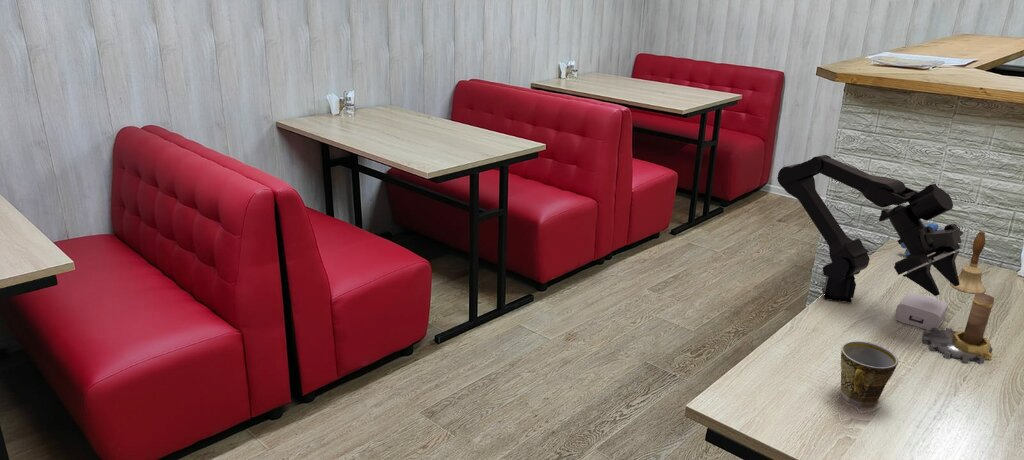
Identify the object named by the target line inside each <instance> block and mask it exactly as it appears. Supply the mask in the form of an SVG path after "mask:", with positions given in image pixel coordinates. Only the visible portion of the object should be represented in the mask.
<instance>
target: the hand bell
mask: <svg viewBox="0 0 1024 460" xmlns="http://www.w3.org/2000/svg"><path fill="white" fill-rule="evenodd" d="M985 233H986V232H984V231H982V230H981V231H980V230H979V232H978V233H977V235H976V236H975V237H974V240H973V243H972V256H971V259H970V263H969V265H964V266H963V267H962V269H961V270H960V273H959V275H958V278H959V282H960V285H958V286H954V285H953V284H952V283H950V282H949V285H950V286H951V287H952V288H953V289H955V290H958V291H959V292H963V293H967V294H973V295H975V294H977V293H982V294H985V293H986V287H985V286H984V284H983V281H982V275H983V274H982V273H983V271H982V269H980V268H979V267H978V265H979V264H978V263H979V259H980V255H981V253H982V252H983V250H984V248H985V245H986V234H985Z"/></svg>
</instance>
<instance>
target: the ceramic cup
mask: <svg viewBox="0 0 1024 460" xmlns="http://www.w3.org/2000/svg"><path fill="white" fill-rule="evenodd" d="M840 351H841V352H840V370H841V371H840V393H841V396H842V397H843V398H844V399H845V400H846V402H848V403H850V404H852V405H854V406H858V407H860V408H865V407H866V408H867V407H868V408H869V407H870V408H871V407H872V408H873V407H875V406H876V405H877V403H878V402H879V400H880V397H881V395H882V393H883V391H884V389H885V387H886V385H887V384H888V382H889V380H890V379H891V377H892V376H893V374H894V372H895V370H896V368H897V366H898V365H899V364H898V363H899V360H898V357H897V356H896V355H895V354H894V353H893V352H892V351H891V350H889V349H887V348H886V347H884V346H882V345H878V344H876V343H872V342H867V341H860V340H859V341H858V340H857V341H856V340H854V341H853V340H852V341H849V342H846V343H844V344H843V345H842V346H841V350H840Z"/></svg>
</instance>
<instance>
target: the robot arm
mask: <svg viewBox="0 0 1024 460" xmlns="http://www.w3.org/2000/svg"><path fill="white" fill-rule="evenodd" d="M819 174H821V175H823V176H825V177H828V178H830V179H831V180H832V179H833V180H834V181H836V182H839V183H841V184H843V185H846V186H847V187H849V188H852V189H854V190H856V191H858V192H859V193H861V194H862V195H863V196H864V198H865V199H866V200H868V201H870V202H871V203H872V204H874V205H875V206H877V207H879V208H885V209H881V212H880V215H879V217H878V221H879V222H880V223H881V222H884V221H887V220H889V222H890V223H891V225H892V227H893V229H894V230H895V232H896V234H897V235H898V237H899V239H897V243H898V245H900V244H902V243H903V244H904V245H905V247H906V249H907V250H908V252H909V254H910V255H908V256H906V257H905V258H902V259H901V260H899V261H896V262H895V263H894V267H893V269H894V270H895V272H896V273H897V276H900V275H902V277H903V278H905V277H906V278H907V279H908V280H910V281H912V282H914V284H917V285H919V286H920V287H921V288H923V289H924V290H925V291H927V292H928V293H930V294H932V295H933V297H936V296H937V297H938V296H939V295H940V294H941V293H940V291H939V288H938V286H937V283H936V281H935V279H934V277H933V275H932V272H931V269H932V266H933V268H935V269H936V270H937V271H938V272H939V273H940V274H941V275H942V276H943V277H944V278H945V279H946V280H947V281H948V282H949V284H950V283H952V284H953V285H954V286H958V285H960V282H959V278H958V276H959V275H958V270H957V265H956V259H957V257H958V255H959V253H960V250H959V249H961V245H960V244H961V243H962V239H961V236H962V235H963V234H964V232H963V231H962V230H961V228H959V227H958V225H957V224H956V223H949V224H947V225H945V226H944V228H943V229H944V230H940V231H933V229H932V228H931V227H930V226H928V227H925V226H926V225H925V226H924V224H925V223H924V222H923V221H926V222H928V221H930V220H933V219H935V218H937V217H938V216H940V215H942V214H945V213H946V212H949V211H950V210H953V208H954V202H953V199H952V197H951V195H950V194H949V193H947V192H946V191H945V190H944V189H942V188H941V187H938V185H937V184H936V183H934V182H933V183H931V184H929V185H927V186H925V187H924V188H923V189H922V190H920V191H916V190H914V189H913V188H910V187H907V186H906V184H905V183H904V182H903V181H901V180H899V179H895V178H891V177H887V176H881V175H880V176H879V175H872V174H870V173H867V172H865V171H863V170H861V169H858V168H855V167H853V166H851V165H849V164H847V163H843V162H842V161H839V160H837V159H835V158H832V157H831V156H829V155H827V154H821V155H817V156H813V157H812V158H811V159H808V160H806V161H804V162H802V163H801V162H800V163H795V164H792V165H791V164H790V165H786V166H782V167H781V168H780V170H778V174H777V177H776V178H777V179H776V180H777V182H778V184H779V185H780V187H781V188H782V189H783V190H784V191H785V192H786V193H787V194H789V195H790V196H792V197H793V198H795V199H797V200H798V202H799V203H800V204H801V207H803V208H802V209H804V210H805V212H806V214H807V215H808V216H809V218H810V219H811V221H812V223H813V224H814V226H815V227H816V229H817V230H818V231H819V233H820V235H821V236H822V238H823V239H824V241H825V242H826V243H827V246H828V251H829V258H830V261H831V262H830V263H828V264H826V265H823V266H822V272H823V273H822V275H823V276H824V277H825V280H824V285H823V287H821V291H822V295H824V294H825V295H824V296H823V299H824V300H827V301H834V302H842V303H849V304H851V303H852V301H853V300H852V299H854V295H855V290H856V286H857V283H856V278H855V277H856V275H859V274H860V273H861V271H863V270H866V269H867V267H869V264H870V256H869V254H868V253H869V252H870V251H869V250H868V249H867V248H866V247H865V246H864V244H863V242H862V240H861V239H860V238H856V239H852V238H851V237H848V235H846V233H845V232H844V230H843V228H842V227H841V225H840V224H839V223H838V221H837V220H836V218H835V217H834V215H833V213H832V212H831V210H830V209H829V208H828V206H827V205H826V203H825V202H824V200H823V199H822V198H821V196H820V195H819V193H818V191H817V190H816V180H815V176H816V175H819ZM907 203H908V204H907ZM903 204H907V205H905V206H904V205H903ZM889 206H895V207H891V208H890V209H889V208H887V207H889ZM922 220H923V221H922ZM923 223H924V224H923ZM906 249H905V250H906ZM957 250H958V251H957ZM954 251H955V252H954ZM929 261H932V262H930V263H928V262H929ZM927 263H928V264H927ZM906 272H907V273H906ZM904 273H905V274H904Z"/></svg>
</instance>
